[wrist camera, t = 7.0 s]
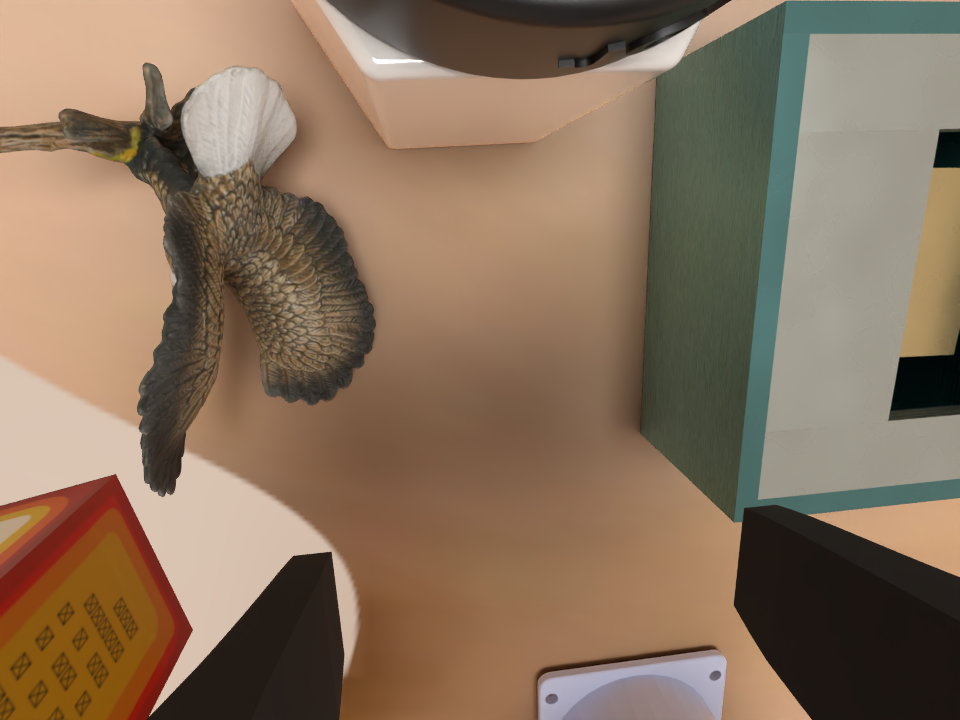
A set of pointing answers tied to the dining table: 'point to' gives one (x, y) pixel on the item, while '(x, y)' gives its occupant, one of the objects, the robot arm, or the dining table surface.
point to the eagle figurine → (226, 249)
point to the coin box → (802, 259)
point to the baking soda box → (83, 608)
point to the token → (936, 272)
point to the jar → (495, 61)
